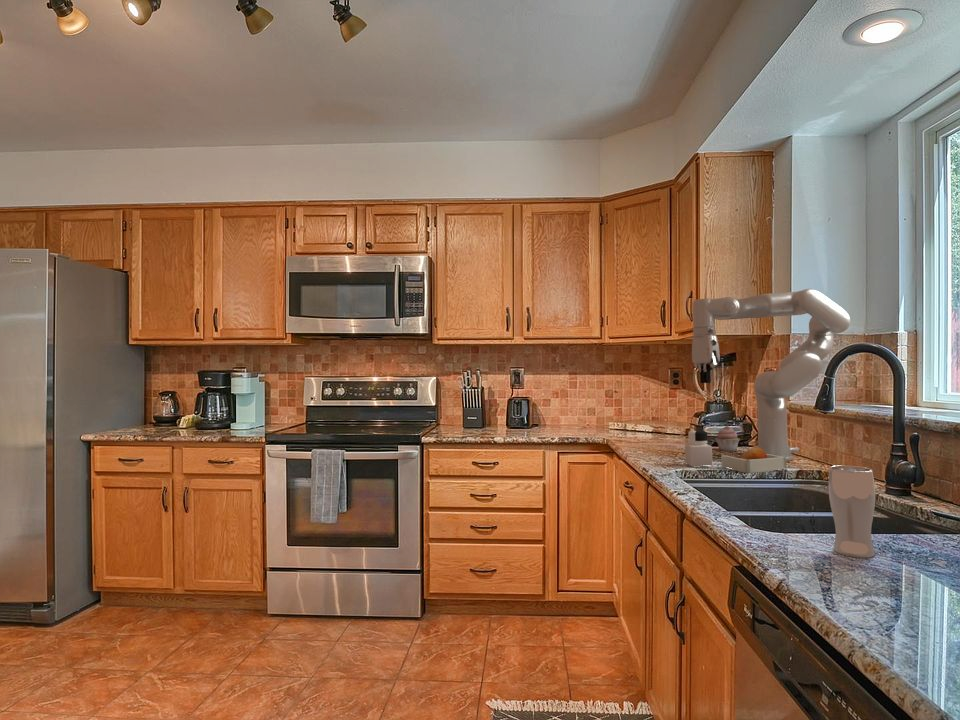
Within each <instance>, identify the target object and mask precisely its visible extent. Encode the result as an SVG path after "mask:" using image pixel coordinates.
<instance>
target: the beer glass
mask: <svg viewBox="0 0 960 720" xmlns="http://www.w3.org/2000/svg"><path fill="white" fill-rule="evenodd" d="M873 473H874V472H873V469H872V468H869V467H866V466H865V467H864V466H859V465H858V466H857V465H832V466H831V465H830V466H829V467H828V497H829V498H828V499H829V505H830V509H831V513H832V517H833V521H834V527H835V539H834V545H833V551H834V552H835V553H837V554H838V555H842V556H846V557H851V558H858V559H869V558H874V556H875V555H876V554H875V549H874V544H873V540H872V527H873V526H872V525H873V519H874V513H875V508H876V507H875V506H876V489H875V487H876V486H875V479H874V474H873Z"/></svg>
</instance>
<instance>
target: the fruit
mask: <svg viewBox="0 0 960 720" xmlns="http://www.w3.org/2000/svg"><path fill="white" fill-rule="evenodd" d="M740 458H741V459H746V460H752V459H765V458H767V455H766V453H765V452H764V451H763V450H762V449H759V447H757V448H756V447H753V448H750V449H747V450H746V451H744V452H742V454H741V456H740Z"/></svg>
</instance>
